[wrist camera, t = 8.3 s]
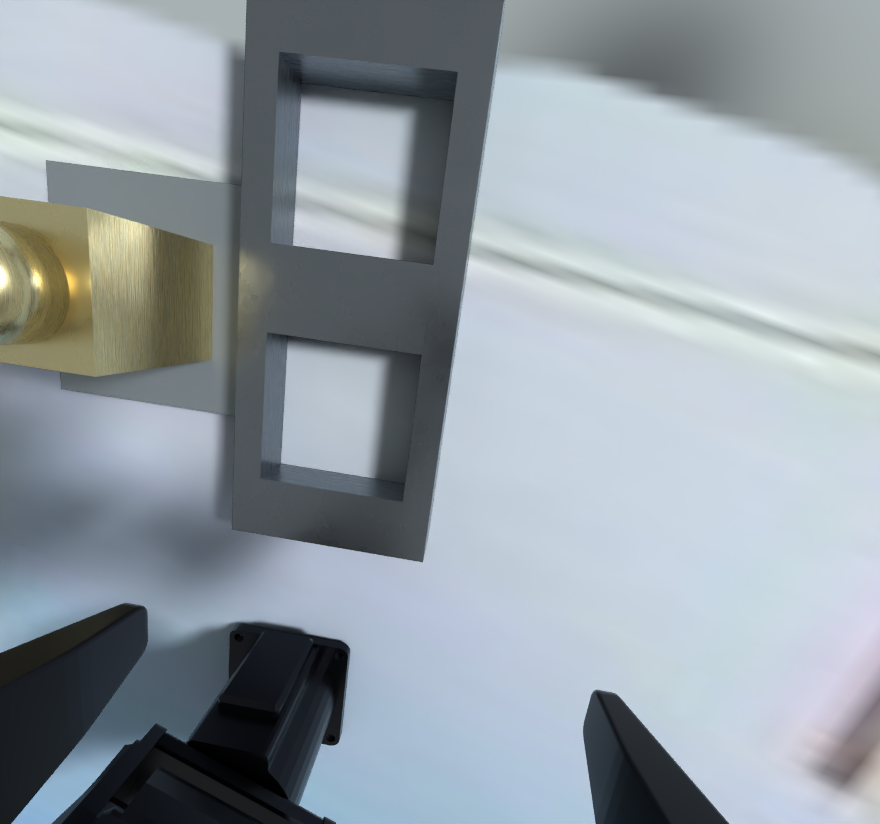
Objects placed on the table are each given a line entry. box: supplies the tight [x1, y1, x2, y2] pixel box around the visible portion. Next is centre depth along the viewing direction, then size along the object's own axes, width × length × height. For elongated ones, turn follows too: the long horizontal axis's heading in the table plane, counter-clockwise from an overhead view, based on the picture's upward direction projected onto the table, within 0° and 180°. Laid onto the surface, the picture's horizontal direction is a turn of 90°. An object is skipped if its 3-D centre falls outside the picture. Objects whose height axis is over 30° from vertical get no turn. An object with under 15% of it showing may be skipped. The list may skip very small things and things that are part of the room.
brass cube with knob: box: [0, 196, 214, 377], centre depth 15 cm, size 5×5×8 cm
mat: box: [46, 160, 242, 416], centre depth 19 cm, size 10×10×1 cm
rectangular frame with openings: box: [232, 0, 505, 562], centre depth 18 cm, size 22×9×2 cm, turn 172°
